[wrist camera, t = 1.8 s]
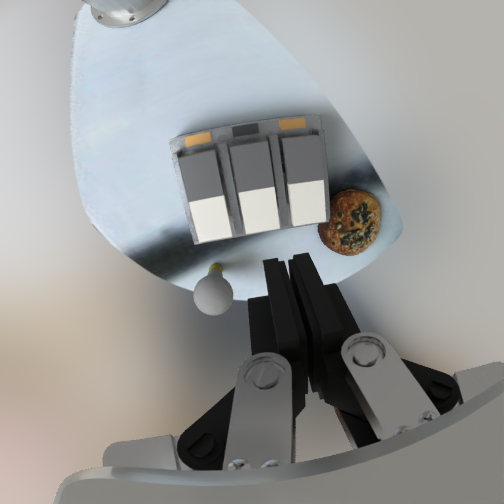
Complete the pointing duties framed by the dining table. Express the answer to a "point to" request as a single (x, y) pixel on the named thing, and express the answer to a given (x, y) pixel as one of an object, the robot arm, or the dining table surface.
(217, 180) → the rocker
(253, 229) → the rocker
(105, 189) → the dining table surface
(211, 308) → the light bulb
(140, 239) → the dining table surface
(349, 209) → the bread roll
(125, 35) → the dining table surface
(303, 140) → the rocker
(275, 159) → the switch box
